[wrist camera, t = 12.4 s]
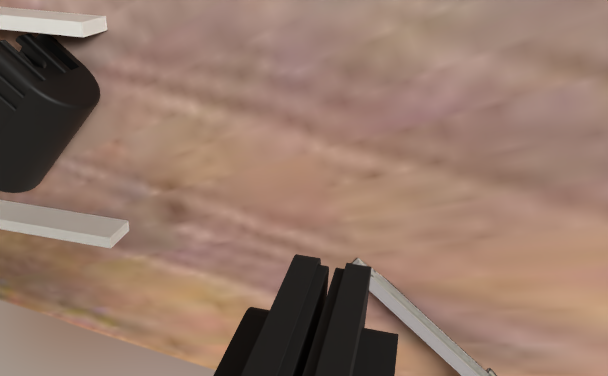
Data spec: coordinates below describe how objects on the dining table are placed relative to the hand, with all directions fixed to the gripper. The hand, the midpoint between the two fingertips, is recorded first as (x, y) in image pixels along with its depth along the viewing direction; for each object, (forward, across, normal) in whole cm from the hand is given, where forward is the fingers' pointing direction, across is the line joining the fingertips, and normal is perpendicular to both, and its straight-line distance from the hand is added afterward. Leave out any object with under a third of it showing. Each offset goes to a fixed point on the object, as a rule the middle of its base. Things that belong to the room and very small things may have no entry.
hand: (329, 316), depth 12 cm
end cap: (+27, +27, +6) cm, 39 cm away
